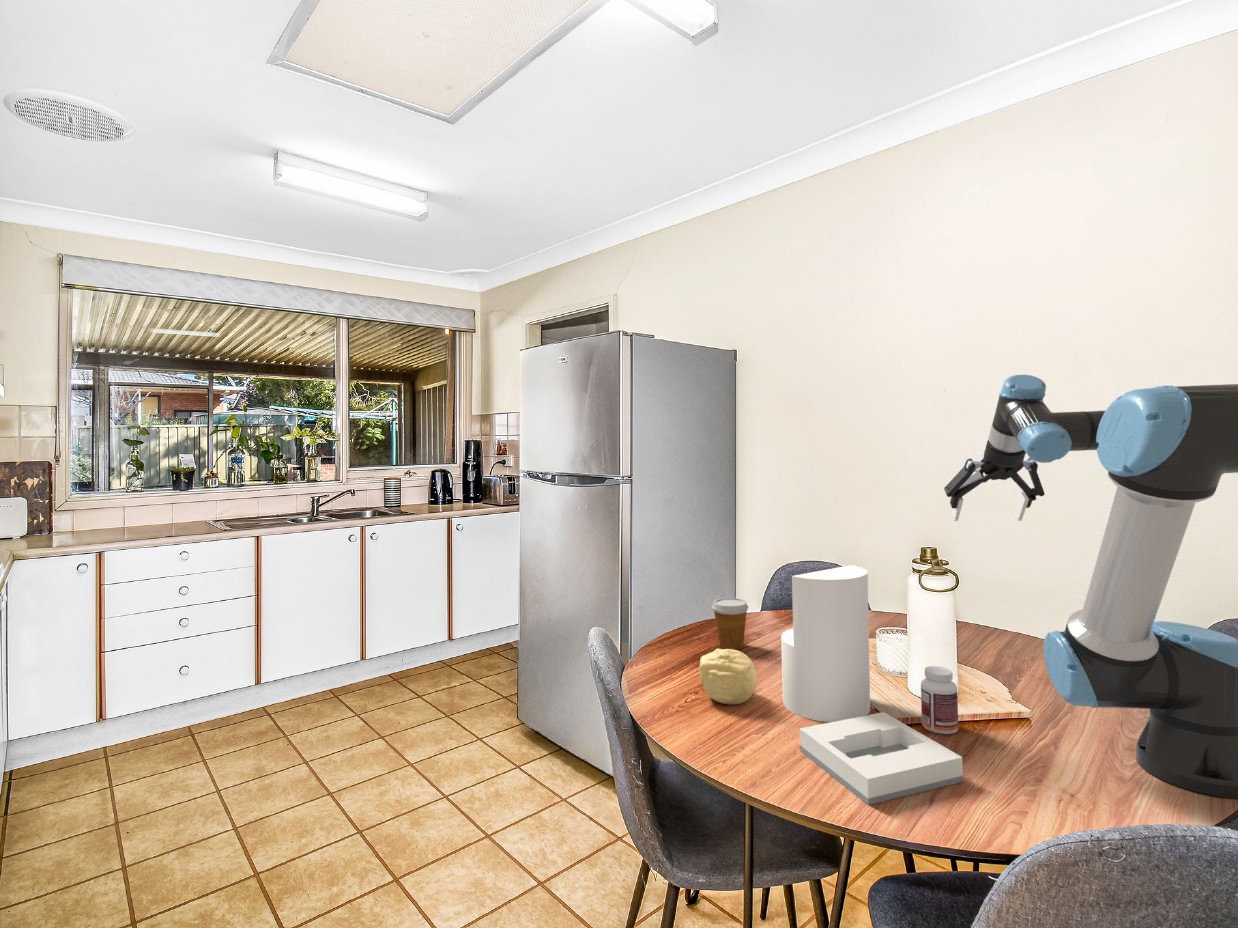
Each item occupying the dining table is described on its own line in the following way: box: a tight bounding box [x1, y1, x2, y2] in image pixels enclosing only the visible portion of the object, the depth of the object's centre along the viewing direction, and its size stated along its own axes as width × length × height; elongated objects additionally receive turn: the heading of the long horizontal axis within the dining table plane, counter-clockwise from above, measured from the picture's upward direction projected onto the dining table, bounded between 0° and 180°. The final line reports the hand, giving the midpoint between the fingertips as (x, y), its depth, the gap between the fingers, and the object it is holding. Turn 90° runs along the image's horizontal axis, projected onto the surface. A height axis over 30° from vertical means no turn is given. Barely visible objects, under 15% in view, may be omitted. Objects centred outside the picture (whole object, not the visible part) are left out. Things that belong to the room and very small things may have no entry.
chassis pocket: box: [799, 711, 964, 806], centre depth 107 cm, size 18×18×4 cm
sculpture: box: [699, 648, 758, 705], centre depth 137 cm, size 12×12×11 cm
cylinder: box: [780, 564, 871, 723], centre depth 132 cm, size 17×17×28 cm
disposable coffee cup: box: [712, 597, 749, 651], centre depth 170 cm, size 10×10×12 cm
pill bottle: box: [920, 665, 959, 735], centre depth 120 cm, size 6×6×11 cm
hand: (985, 517), depth 149 cm, fingers open, 13 cm apart
